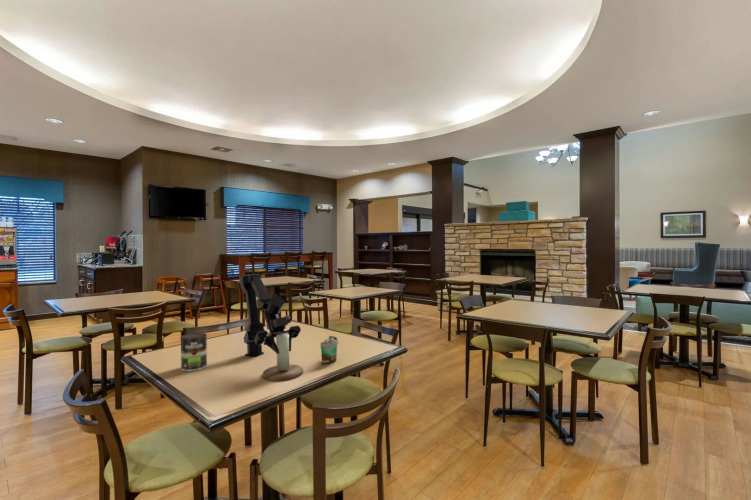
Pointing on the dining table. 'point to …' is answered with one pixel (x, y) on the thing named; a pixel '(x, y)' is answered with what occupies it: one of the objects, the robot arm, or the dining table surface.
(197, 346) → the coffee can
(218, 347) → the dining table surface
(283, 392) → the dining table surface
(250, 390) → the dining table surface
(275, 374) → the disc
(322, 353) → the food container
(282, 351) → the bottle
